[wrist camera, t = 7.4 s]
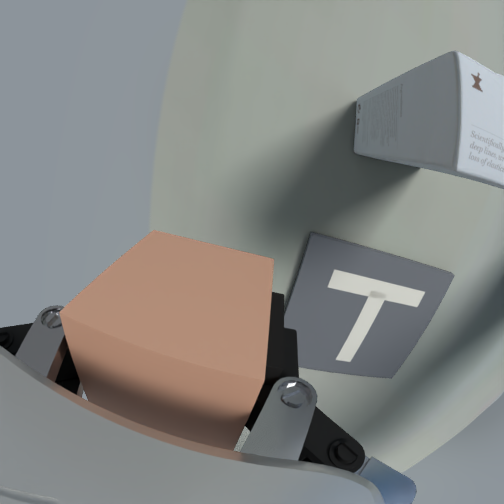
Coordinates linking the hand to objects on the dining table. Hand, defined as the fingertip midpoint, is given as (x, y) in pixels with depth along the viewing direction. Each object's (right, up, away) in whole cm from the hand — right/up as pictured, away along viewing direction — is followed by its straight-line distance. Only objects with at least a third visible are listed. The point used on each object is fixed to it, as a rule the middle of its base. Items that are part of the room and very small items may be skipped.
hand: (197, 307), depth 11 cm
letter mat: (+12, -4, +11) cm, 17 cm away
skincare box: (+12, +11, +5) cm, 17 cm away
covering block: (0, 0, +1) cm, 1 cm away
